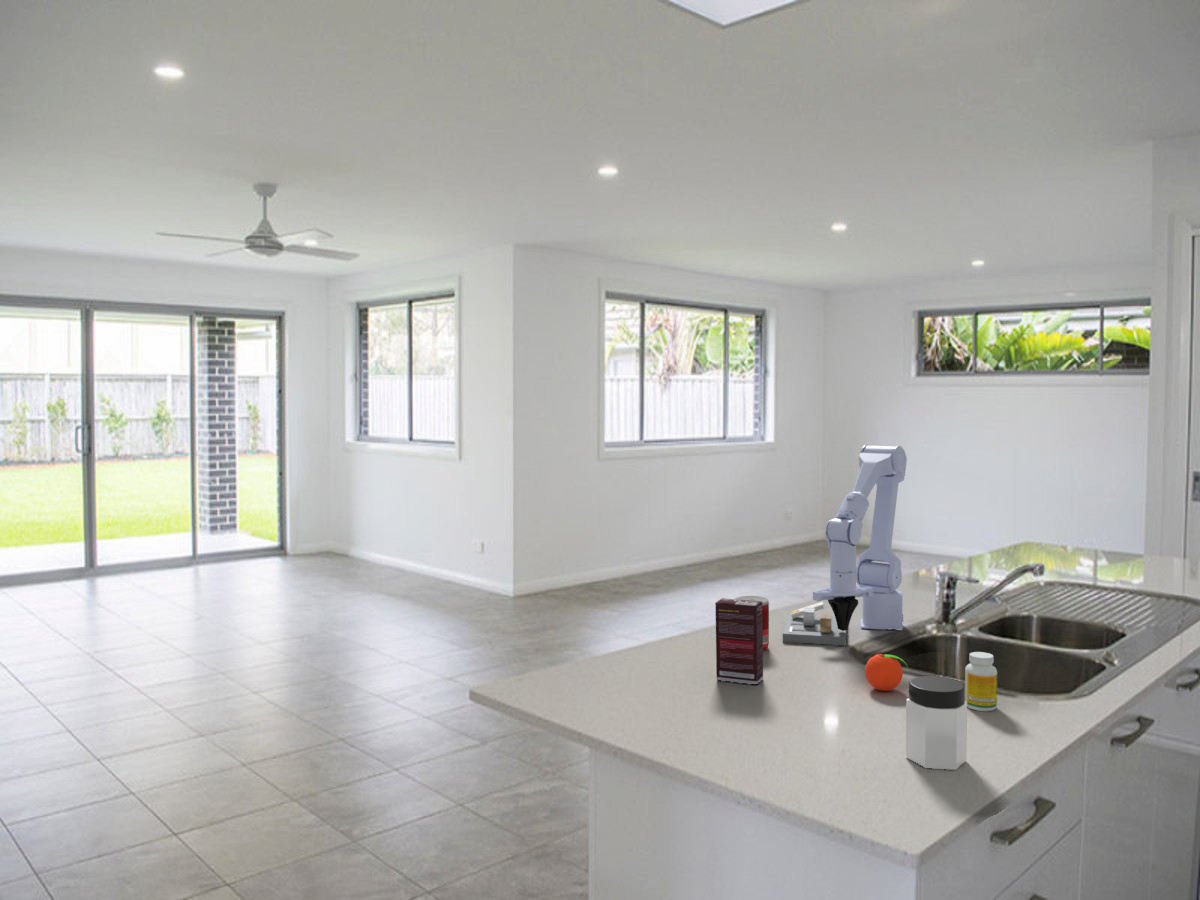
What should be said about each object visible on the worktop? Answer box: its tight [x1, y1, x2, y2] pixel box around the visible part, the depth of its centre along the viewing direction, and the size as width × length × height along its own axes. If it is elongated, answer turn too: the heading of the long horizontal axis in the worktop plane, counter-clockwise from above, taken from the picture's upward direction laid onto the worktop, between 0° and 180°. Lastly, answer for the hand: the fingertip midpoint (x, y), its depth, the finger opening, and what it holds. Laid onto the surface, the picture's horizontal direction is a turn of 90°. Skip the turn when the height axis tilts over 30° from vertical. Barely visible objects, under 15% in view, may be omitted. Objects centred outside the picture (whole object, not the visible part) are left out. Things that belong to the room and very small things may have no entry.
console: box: [782, 613, 847, 646], centre depth 217 cm, size 14×19×3 cm
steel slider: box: [803, 607, 816, 626], centre depth 217 cm, size 2×4×3 cm, turn 165°
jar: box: [905, 675, 968, 771], centre depth 141 cm, size 9×8×12 cm
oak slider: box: [819, 613, 832, 633], centre depth 211 cm, size 2×4×3 cm, turn 165°
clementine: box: [864, 653, 909, 692], centre depth 175 cm, size 8×7×7 cm
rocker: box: [790, 600, 825, 618], centre depth 223 cm, size 8×4×1 cm, turn 74°
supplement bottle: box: [964, 651, 998, 712], centre depth 165 cm, size 5×5×10 cm
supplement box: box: [714, 597, 764, 685], centre depth 182 cm, size 9×5×16 cm, turn 65°
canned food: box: [734, 595, 770, 652], centre depth 205 cm, size 8×8×11 cm
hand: (842, 629), depth 210 cm, fingers closed
